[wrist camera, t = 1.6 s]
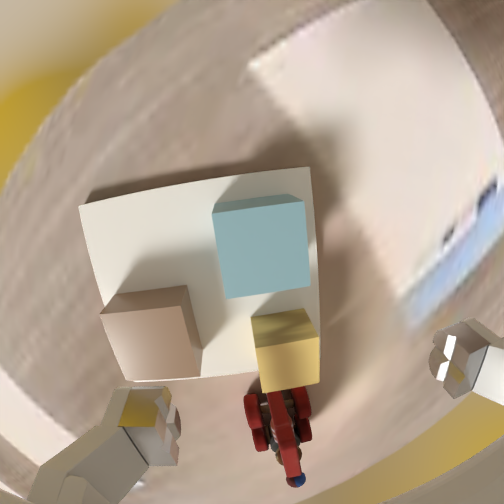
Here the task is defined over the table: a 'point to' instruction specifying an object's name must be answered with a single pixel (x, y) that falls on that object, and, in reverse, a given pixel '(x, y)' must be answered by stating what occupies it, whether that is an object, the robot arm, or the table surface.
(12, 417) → the table surface
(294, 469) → the toy fire truck
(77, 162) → the table surface
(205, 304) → the board
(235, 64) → the table surface
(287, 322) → the ochre block
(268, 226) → the teal block
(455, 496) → the robot arm
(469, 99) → the table surface
